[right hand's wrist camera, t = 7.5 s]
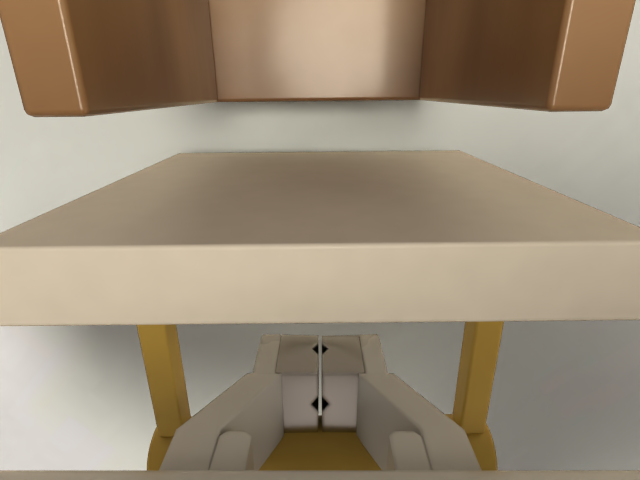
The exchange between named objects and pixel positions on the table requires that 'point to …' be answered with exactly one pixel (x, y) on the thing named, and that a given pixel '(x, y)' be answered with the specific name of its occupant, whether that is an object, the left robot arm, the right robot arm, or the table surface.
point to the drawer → (317, 185)
